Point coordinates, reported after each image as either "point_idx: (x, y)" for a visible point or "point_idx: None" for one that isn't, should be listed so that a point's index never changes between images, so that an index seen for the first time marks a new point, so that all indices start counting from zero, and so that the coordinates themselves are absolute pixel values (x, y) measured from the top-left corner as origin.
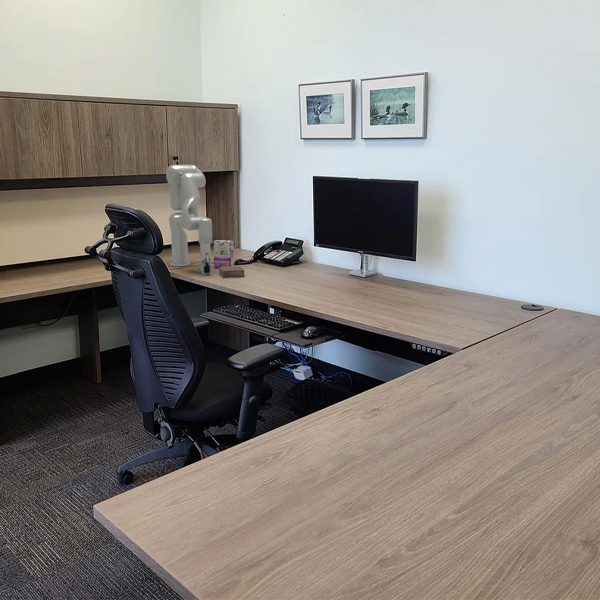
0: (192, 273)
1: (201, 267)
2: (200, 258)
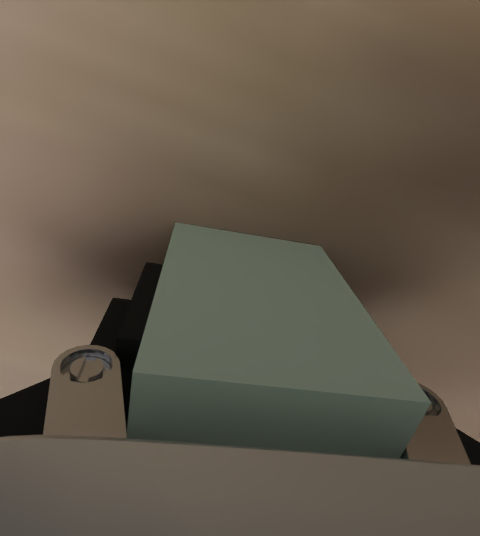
0: (386, 93)
1: (303, 292)
2: (469, 484)
